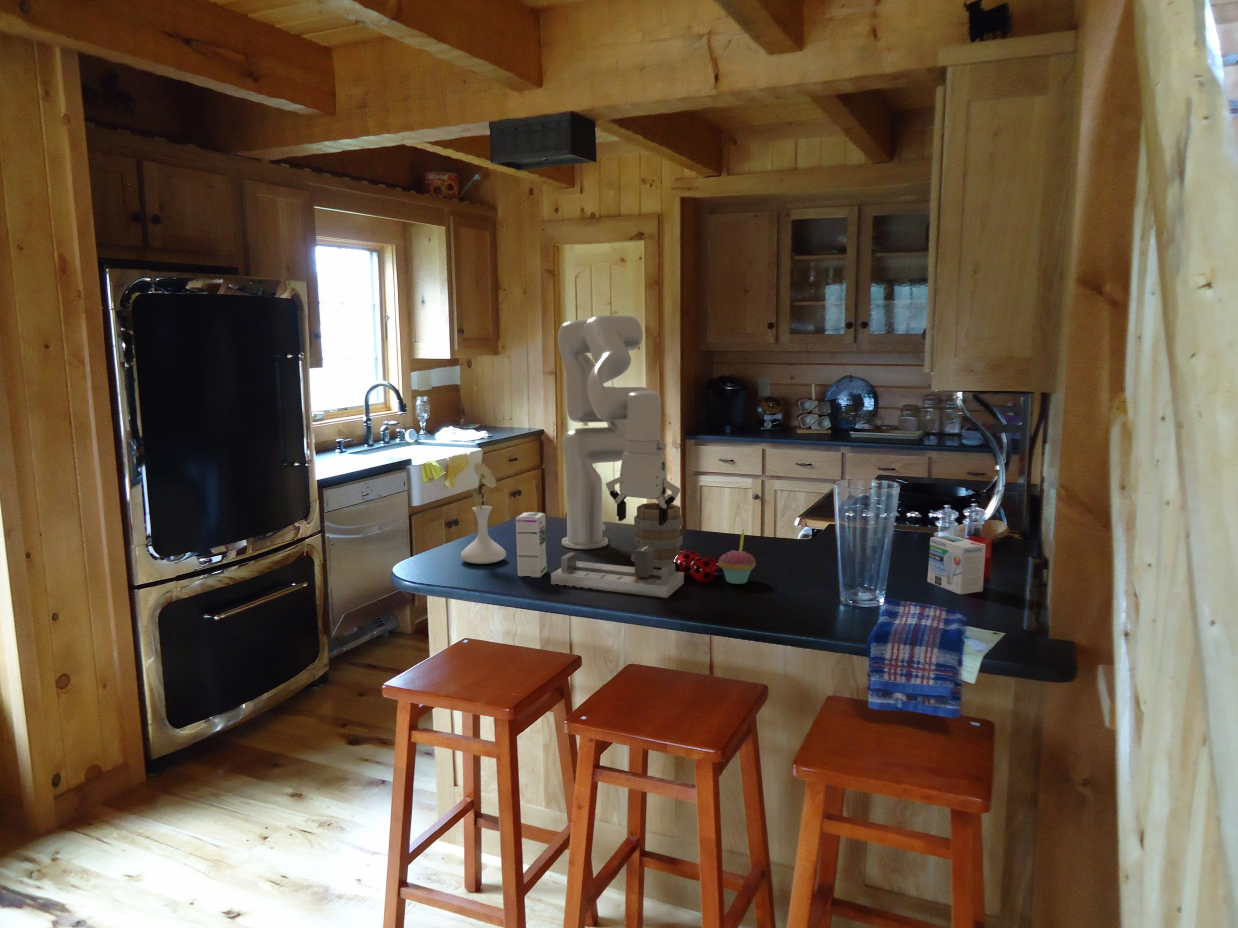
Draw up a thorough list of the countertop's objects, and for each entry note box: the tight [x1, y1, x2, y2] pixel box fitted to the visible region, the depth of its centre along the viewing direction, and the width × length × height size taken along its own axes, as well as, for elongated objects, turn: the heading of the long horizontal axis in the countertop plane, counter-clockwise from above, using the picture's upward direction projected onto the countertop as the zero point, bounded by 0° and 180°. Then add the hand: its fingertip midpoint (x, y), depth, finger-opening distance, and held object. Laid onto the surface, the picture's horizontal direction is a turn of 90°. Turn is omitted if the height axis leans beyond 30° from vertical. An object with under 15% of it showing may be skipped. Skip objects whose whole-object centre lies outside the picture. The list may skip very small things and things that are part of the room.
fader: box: [634, 546, 655, 578], centre depth 198 cm, size 4×3×6 cm
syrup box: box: [515, 511, 548, 578], centre depth 208 cm, size 6×6×14 cm
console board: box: [550, 552, 685, 599], centre depth 201 cm, size 12×28×6 cm, turn 68°
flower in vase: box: [460, 461, 507, 565], centre depth 219 cm, size 13×11×25 cm
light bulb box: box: [927, 534, 987, 595], centre depth 198 cm, size 11×7×11 cm, turn 23°
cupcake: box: [718, 529, 756, 585], centre depth 202 cm, size 9×8×12 cm
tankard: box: [630, 493, 684, 569], centre depth 223 cm, size 20×13×15 cm, turn 160°
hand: (642, 522), depth 197 cm, fingers open, 9 cm apart
